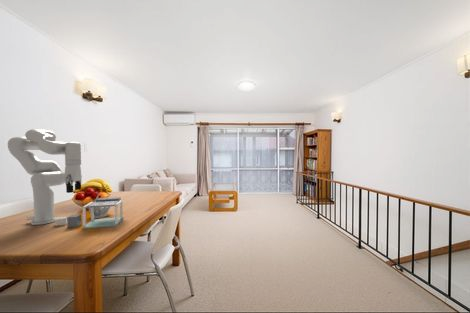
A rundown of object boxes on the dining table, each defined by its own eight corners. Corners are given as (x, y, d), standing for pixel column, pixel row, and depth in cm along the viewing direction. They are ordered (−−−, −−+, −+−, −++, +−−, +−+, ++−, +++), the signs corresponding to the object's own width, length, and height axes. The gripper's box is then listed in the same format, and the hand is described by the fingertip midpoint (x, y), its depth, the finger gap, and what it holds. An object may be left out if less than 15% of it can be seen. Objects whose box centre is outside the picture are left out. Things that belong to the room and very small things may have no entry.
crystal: (113, 214, 145) (113, 193, 145) (91, 219, 135) (91, 196, 134) (108, 212, 151) (108, 192, 151) (87, 216, 141) (86, 194, 141)
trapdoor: (86, 211, 120) (86, 204, 120) (97, 204, 136) (97, 198, 136) (114, 209, 124) (114, 202, 124) (122, 202, 140) (122, 197, 140)
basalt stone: (67, 227, 120) (67, 217, 120) (71, 224, 125) (71, 214, 125) (77, 226, 122) (77, 216, 122) (81, 223, 127) (81, 214, 126)
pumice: (55, 226, 123) (55, 219, 123) (57, 224, 126) (56, 217, 126) (66, 224, 126) (65, 218, 125) (67, 222, 129) (67, 216, 129)
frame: (81, 228, 118) (81, 207, 118) (92, 220, 132) (92, 201, 132) (116, 225, 123) (116, 205, 122) (123, 218, 137) (123, 199, 137)
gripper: (73, 162, 130) (74, 189, 130) (57, 163, 113) (58, 194, 114) (86, 162, 132) (87, 188, 132) (73, 163, 115) (74, 193, 116)
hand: (74, 191), depth 123 cm, fingers open, 9 cm apart
